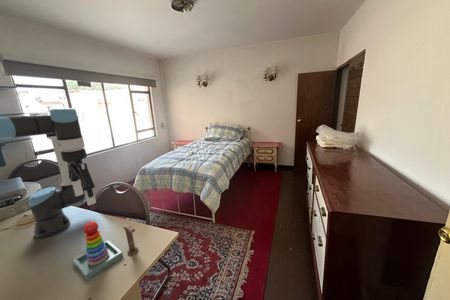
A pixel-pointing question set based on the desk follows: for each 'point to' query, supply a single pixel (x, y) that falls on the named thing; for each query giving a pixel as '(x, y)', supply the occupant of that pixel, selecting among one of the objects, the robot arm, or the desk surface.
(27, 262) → the desk surface
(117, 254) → the tray
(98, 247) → the stacking toy
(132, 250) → the tan tall figure
